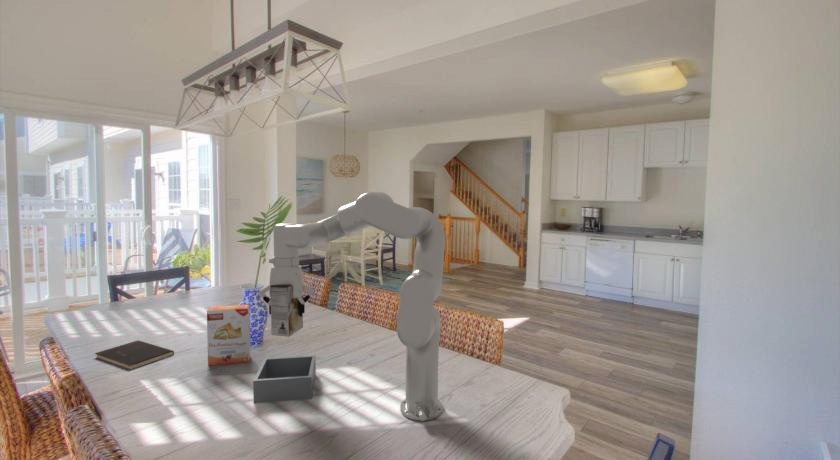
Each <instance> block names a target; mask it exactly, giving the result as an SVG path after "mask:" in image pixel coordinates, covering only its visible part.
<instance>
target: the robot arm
mask: <svg viewBox="0 0 840 460" xmlns="http://www.w3.org/2000/svg"><path fill="white" fill-rule="evenodd" d="M368 227H373V228H375V229H378V230H380V231H382V232H383V233H386V234H389V235H391V236H393V237H395V238H399V239H401V240H411V239H414V238H415V239H416V243H415V245H416V246H415V249H414V256H413V258H414V259H413V267H412V272H411V274H410V275H409V276H408V277H406V279H405V280H404V281H403V283H402V284H401V287H400V291H399V296H398V297H399V299H398V300H399V301H398V309H397V310H398V311H397V318H396V319H397V322H396V334H397V337H398V340H399V341H400V342H401V344H402V345H404V346H405V347H406V349H405V350H406V351H405V353H406V354H405V356H406V357H405V399H404V400H402V401H401V403H400V406H399V407H400V408H399V409H400V412H401V414H402V416H404V417H405V418H407V419H409V420H414V421H422V422H424V421H430V420H434V419H437V418H439V417H440V415H442V413H443V411H444V409H443V407H444V406H443V403H442V402H441V400H438V399H439V359H440V358H439V357H440V355H439V353H440V352H439V351H440V335H441V327H442V322H441V321H442V320H441V315H440V313H439V311H438V310H437V308H436V307H435V306H434V305H435V301H436V299H437V298H438V297H439V296H440V294H441V292H442V289H443V288H442V287H443V273H444V261H445V259H444V258H445V251H446V249H445V248H446V234H445V231H444V230H445V229H444V226H443V224H442V222H441V220H440V219H439V218H438V217H437V216H436V215H435V213H433V212H432V211H430V210H428V209H426V208H423V207H421V206H412V207H406V206H404V205H401V204H399V203H396V202H394V200H393V198H392V197H391V196H390V195H389V194H387V193H386V192H383V191H367V192H364V193H362V194H361V195H359V197H358V198H356V200H355V201H353V202H350V203H347V204H345V205H342V206H340V207H339V208H338V209H337V213H335V214H334V215H332V216H330V217H327V218H325V219H322V220H318V221H317V222H310V223H302V224H296V223H292V222H291V223H290V222H289V223H288V222H287V223H285V222H283V223H276V224H275V225H274V226H273V257H272V258H269V259H268V263H269V264H272V265H273V266H271V268H270V272H269V282H268V283H269V284H268V285H267V286H266V287H264V288H263V289H261V290H259V292H258V294H259V296H260V297H261V298H262V300H263V301H264V302H265V303H267V304H266V305H268V312H269V313H268V314H269V315H271V292H270V286H271V285H293V298H294V299H295V298H297V299H298V300H299V301H300V305H299V316H300V317H302V315H304V314H305V313H306V312H305V310H306V309H305V304H306V303H307V302H308V300H310V299H311V296H313V294H314V292H315V289H313V288H311V287H310V286H309V285H307V284H305V283H304V276H303V271H302V265H300V258H299V257H300V255H299V254H300V252H299V250H301V249H302V250H304V249H311V248H313V247H318V246H322V245H325V244H327V243H330V242H332V241H335V240H337V239H340V238H342V237H346V236H349V235H351V234H353V233H355V232H358V231H361V230H363V229H366V228H368ZM304 291H306V292H307V295H305V296H303V295H304ZM266 293H268V295H267V294H266Z"/></svg>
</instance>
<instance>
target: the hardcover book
mask: <svg viewBox="0 0 840 460" xmlns="http://www.w3.org/2000/svg"><path fill="white" fill-rule="evenodd" d="M94 355H96V358H98V359H101V360H103V361H106V362H109V363H111V364H114V365H117V366H120V367H123V368H126V369H129V370H133V369H136V368H140V367H141V366H144V365H147V364H150V363H154V362H156V361H158V360H161V359H164V358H168V357H170V356H173V355H175V351H174V350H173V349H168V348H165V347H162V346H159V345H155V344H153V343H148V342H146V341H142V340H139V339H138V340H134V341H131V342H128V343H124V344H121V345H118V346H115V347H111V348H107V349H104V350H101V351H97V352H95V353H94Z"/></svg>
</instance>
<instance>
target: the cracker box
mask: <svg viewBox="0 0 840 460" xmlns="http://www.w3.org/2000/svg"><path fill="white" fill-rule="evenodd" d="M250 310H251V309H250V304H241V305H240V304H239V305H237V304H236V305H219V306H218V305H217V306H216V305H215V306H209V307H208V309H207V311H206V332H207V333H206V334H207V335H206V336H207V338H206V339H207V366H217V365H229V364H230V365H231V364H241V363H249V361H250V359H251V316H250V315H251V314H250V313H251V311H250Z"/></svg>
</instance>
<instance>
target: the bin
mask: <svg viewBox="0 0 840 460" xmlns="http://www.w3.org/2000/svg"><path fill="white" fill-rule="evenodd" d="M316 359H317V358H316V355H303V356H301V355H300V356H287V357H286V356H283V357H282V356H281V357H280V356H279V357H265V358H263V360H262V362H261V363H260V366H259V367H258V370H257V373H256V374H255V376H254V379H253V381H252V387H253V393H252V394H253V404H262V403H274V402H287V401H290V402H291V401H299V400H300V401H302V400H312V399H313V393H314V392H313V391H314V386H315V381H316V376H317V375H316V374H317V373H316V371H317V369H316V365H317V364H316Z"/></svg>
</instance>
